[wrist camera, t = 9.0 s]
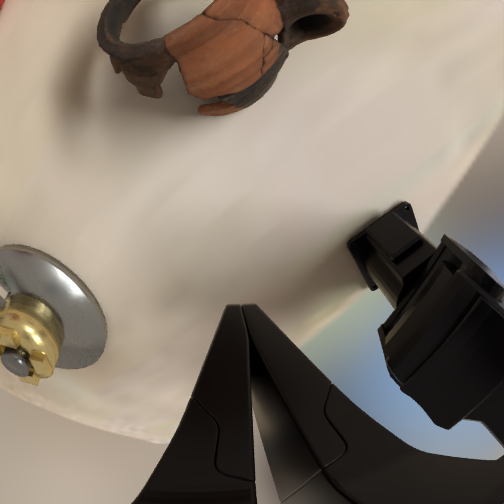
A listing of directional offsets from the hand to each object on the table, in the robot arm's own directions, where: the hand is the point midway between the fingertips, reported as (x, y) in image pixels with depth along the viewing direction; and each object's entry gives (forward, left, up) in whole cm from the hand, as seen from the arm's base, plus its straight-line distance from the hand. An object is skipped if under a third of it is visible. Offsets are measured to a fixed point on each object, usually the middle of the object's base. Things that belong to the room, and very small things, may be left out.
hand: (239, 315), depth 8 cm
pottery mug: (+7, -6, -12) cm, 16 cm away
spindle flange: (+2, +21, -12) cm, 24 cm away
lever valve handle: (+7, +21, -11) cm, 24 cm away
